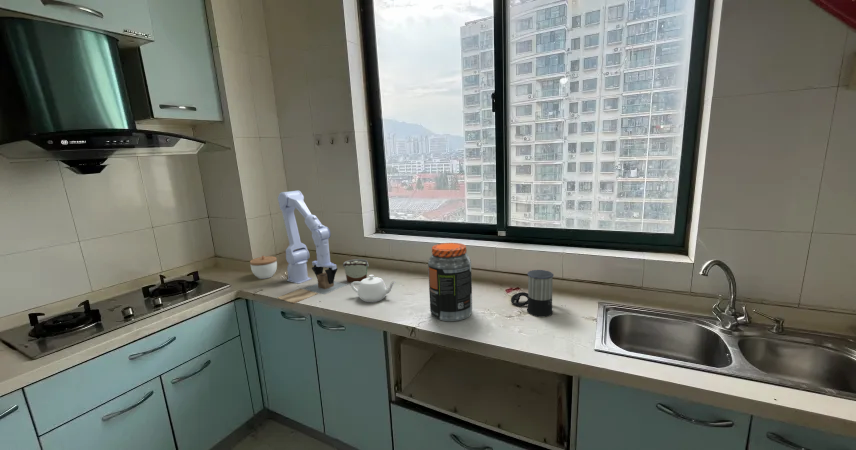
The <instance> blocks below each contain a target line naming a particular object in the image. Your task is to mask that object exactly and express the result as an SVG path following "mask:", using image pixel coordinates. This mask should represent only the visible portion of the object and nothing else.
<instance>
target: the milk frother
mask: <svg viewBox="0 0 856 450" xmlns="http://www.w3.org/2000/svg"><path fill="white" fill-rule="evenodd" d="M527 278H528V280H527V284H528V285H527V286H528V287H527V292H523V291H521V292H518V293H514V294H513V295H512V296H511V297H510V302H511V304H513V305H514V306H519V307H524V306H527V308H526V312H527V313H528V314H530V315H531V314H532V316H534V315H535V317H539V316H545V317H549V315H550V316H552V315H553V313H554V311H553V283H554V281H553V278H554V273H553V272H551V271H549V270H544V269H534V270H530V271H528V272H527ZM521 297H526V298H527V299H526V301H524V302H520V299H521Z"/></svg>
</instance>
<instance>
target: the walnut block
mask: <svg viewBox="0 0 856 450" xmlns="http://www.w3.org/2000/svg"><path fill="white" fill-rule="evenodd" d="M316 278H317V284H318V287H319V288H323V289H327V288H330V287H332V286H334V283H332V284H329V282H328V276H327V274H326V272H325V271H323V273H321V274H318V275H317V277H316Z"/></svg>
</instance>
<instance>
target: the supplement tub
mask: <svg viewBox="0 0 856 450" xmlns="http://www.w3.org/2000/svg"><path fill="white" fill-rule="evenodd" d="M427 261H428V262H427V269H428V288H429V289H428V290H429V291H428V292H429V310H430V314H431V315H432V317H433V318H435V319H437V320H439V321H445V322H459V321H462V320H465V319H467V318H468V317H470V315H472V313H473V287H472V286H473V285H472V284H473V283H472V282H473V281H472V280H473V279H472V278H473V277H472V261H471V257H470V256H469V255H468V252H467V245H465V244H463V243H461V242H460V243H459V242H443V243H442V242H441V243H438V244H434V245H432V247H431V256H430V257H429V259H428V260H427Z"/></svg>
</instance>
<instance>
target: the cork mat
mask: <svg viewBox="0 0 856 450" xmlns="http://www.w3.org/2000/svg"><path fill="white" fill-rule="evenodd" d="M318 294H319V293H317V292H314V291H310V290H306V289H305V288H304V289H303V288H299V289H296V290H293V291H291V292H288V293H285V294H283V295H281V296H277V300H282V301H285V302H288V303H291V304H294V305H295V304H297V303H299V302H302V301H304V300H306V299H309V298H311V297H313V296H317V295H318Z"/></svg>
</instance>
